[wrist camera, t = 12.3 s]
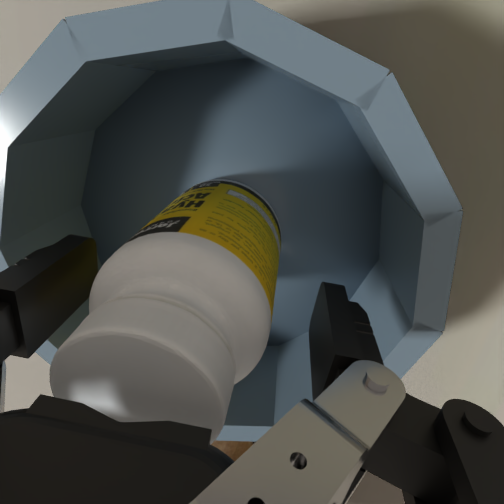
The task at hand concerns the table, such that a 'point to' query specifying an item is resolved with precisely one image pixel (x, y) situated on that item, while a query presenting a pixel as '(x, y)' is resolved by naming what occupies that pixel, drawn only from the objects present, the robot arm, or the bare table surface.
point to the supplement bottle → (178, 312)
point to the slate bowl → (235, 169)
